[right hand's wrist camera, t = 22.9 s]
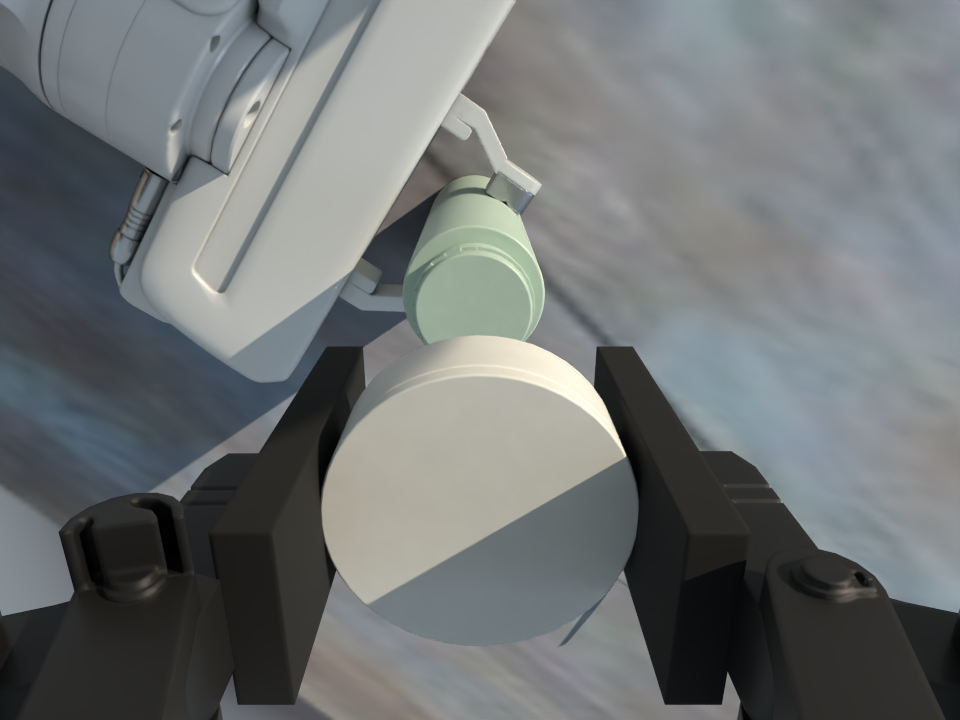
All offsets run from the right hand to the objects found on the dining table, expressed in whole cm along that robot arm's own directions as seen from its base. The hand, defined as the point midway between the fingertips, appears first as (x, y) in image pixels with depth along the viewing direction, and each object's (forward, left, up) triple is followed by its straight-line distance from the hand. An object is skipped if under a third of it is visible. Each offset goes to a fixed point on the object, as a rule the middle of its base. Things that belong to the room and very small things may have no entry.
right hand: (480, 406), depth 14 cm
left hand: (0, -1, -15) cm, 15 cm away
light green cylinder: (0, 0, -21) cm, 21 cm away
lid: (0, 0, +4) cm, 4 cm away
